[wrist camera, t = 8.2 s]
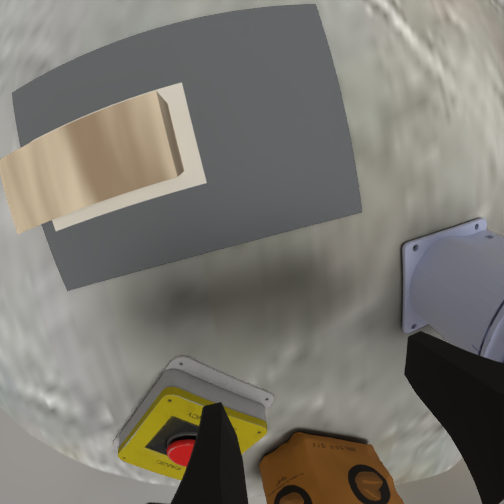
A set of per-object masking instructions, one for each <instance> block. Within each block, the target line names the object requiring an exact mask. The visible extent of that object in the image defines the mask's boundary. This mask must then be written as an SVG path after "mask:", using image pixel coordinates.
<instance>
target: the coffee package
mask: <svg viewBox="0 0 504 504" xmlns="http://www.w3.org/2000/svg"><path fill="white" fill-rule="evenodd" d="M259 468H260V472H261V477H262V482H263V488H264V492H265V496H266V501H267V504H404V503H403V500H402V499H401V498H400V496H399V495H398V494H397V492H396V489H395V486H394V482H393V478H392V477H391V475H390V474H389V472H388V471H387V469H386V468H385V467H384V465H383V463H382V462H381V461H380V459H379V457H378V455H377V454H376V452H375V450H374V448H373V446H372V445H371V444H362V443H356V442H350V441H345V440H340V439H335V438H331V437H324V436H317V435H309V434H305V433H302V432H297V433H295V434H293V435H292V437H291V439H290V440H289V441H288V442H286V443H283V444H282V445H280V447H279V448H277V449H276V450H275V451H273V452H272V453H269V454H268V455H266V456H264V457H263V460H262V461H261V462H260V464H259Z"/></svg>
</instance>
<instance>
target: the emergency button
mask: <svg viewBox="0 0 504 504" xmlns="http://www.w3.org/2000/svg"><path fill="white" fill-rule="evenodd" d="M219 402H222V405H223V407H224V409H225V411H226V413H227V415H228V417H229V420H230V422H231V424H232V426H233V428H234V430H235V432H236V434H237V438H238V442H239V446H240V450H241V455H242V454H243V453H245V452H246V451H247V450H248V449H249V448H251V447H252V446H253V445H254V444H255V443H256V442H258V441H259V440H260V439H261V438H262V437H263V436H265V435H266V433H267V423H266V416H265V411H266V410H267V409H268V408H269V407H270V406H271V405H272V403H273V402H274V395H273V394H272V393H271V392H269V391H266V390H264V389H261V388H259V387H256V386H254V385H252V384H249V383H247V382H244V381H242V380H240V379H237V378H235V377H233V376H230V375H228V374H226V373H223V372H221V371H219V370H217V369H215V368H212V367H210V366H208V365H206V364H204V363H202V362H199V361H197V360H195V359H193V358H191V357H189V356H184V355H180V356H176V357H174V358H173V359H172V360H171V361H170V362H169V363H168V365H167V366H166V368H165V369H164V370H163V372H162V373H161V375H160V376H159V377H158V379H157V380H156V382H155V383H154V384H153V386H152V387H151V389H150V390H149V391H148V393H147V394H146V396H145V397H144V398H143V400H142V401H141V403H140V404H139V406H138V407H137V408H136V410H135V411H134V413H133V414H132V415H131V417H130V418H129V420H128V421H127V422H126V424H125V425H124V427H123V428H122V430H121V431H120V432H119V434H118V435H117V437H116V438H115V439H114V442H113V445H114V447H115V448H117V449H118V457H119V458H120V459H121V460H123V461H125V462H127V463H130V464H133V465H135V466H138V467H141V468H144V469H147V470H149V471H152V472H155V473H159V474H162V475H165V476H168V477H172V478H175V479H178V480H182V478H183V475H184V473H185V470H186V467H187V465H188V462H189V459H190V456H191V453H192V450H193V446H194V443H195V440H196V436H197V432H198V428H199V424H200V419H201V414H202V408H203V407H204V406H206V405H210V404H214V403H219Z"/></svg>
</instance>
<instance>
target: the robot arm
mask: <svg viewBox="0 0 504 504" xmlns="http://www.w3.org/2000/svg"><path fill="white" fill-rule="evenodd" d="M475 225H476V226H475ZM414 245H415V248H414V249H413V247H414ZM402 254H403V322H402V330H403V331H404V332H405V333H410V332H412V331H415V330H417V329H419V328H421V327H423V326H426V325H428V324H429V325H430V326H431V327H432V328H434V329H435V330H436V331H437V332H438V333H439V334H440V335H441V336H442V337H443V338H444V339H446V340H447V341H448V342H449V343H447V342H445V341H443V340H440V339H438V338H436V337H434V336H431V335H429V334H426V333H424V332H421V331H420V332H418V333H416V334H413V335H411V336H409V337H408V345H407V355H406V365H405V373H404V374H405V376H406V378H407V379H408V381H409V383H410V384H411V386H412V388H413V389H414V391H415V392H416V394H417V395H418V396H419V398H420V399H421V400H422V401H423V403H424V404H425V405H426V406H427V407H428V409H429V410H430V411H431V412H432V413H433V415H434V416H435V417H436V418H437V420H438V421H439V422H440V423H441V424H442V426H443V427H444V428H445V429H446V431H447V432H448V434H449V435H450V436H451V438H452V440H453V441H454V443H455V445H456V446H457V448H458V450H459V451H460V453H461V455H462V457H463V459H464V461H465V462H466V464H467V466H468V469H469V470H470V473H471V475H472V477H473V479H474V482H475V484H476V487H477V489H478V492H479V495H480V497H481V501H482V504H499V503H500V502H501V501H502V500H504V237H503V236H500V235H498V234H496V233H493V232H491V231H489V230H487V221H486V219H485V218H479V219H476V220H473V221H470V222H467V223H464V224H461V225H458V226H455V227H452V228H449V229H446V230H443V231H440V232H437V233H434V234H431V235H428V236H425V237H422V238H419V239H415V240H412V241H409V242H407V243H405V244H404V246H403V249H402ZM413 324H414V325H413ZM412 325H413V326H412ZM171 504H248V498H247V490H246V483H245V475H244V467H243V459H242V455H241V450H240V446H239V442H238V438H237V434H236V432H235V430H234V428H233V426H232V424H231V422H230V420H229V417H228V415H227V413H226V411H225V409H224V407H223V405H222V402H219V403H214V404H210V405H206V406H204V407H203V408H202V414H201V419H200V424H199V428H198V432H197V436H196V440H195V443H194V446H193V450H192V453H191V456H190V459H189V462H188V465H187V467H186V470H185V473H184V475H183V478H182V480H181V483H180V485H179V487H178V490H177V492H176V494H175V496H174V498H173V500H172V502H171Z"/></svg>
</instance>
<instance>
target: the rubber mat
mask: <svg viewBox="0 0 504 504" xmlns="http://www.w3.org/2000/svg"><path fill="white" fill-rule="evenodd" d="M153 91H157V92H158V93H159V94H160V96H161V97H162V98H163V99H164V100H165V101H166V102H167V103H168V107H169V111H170V115H171V120H172V124H173V128H174V132H175V136H176V140H177V144H178V148H179V152H180V156H181V159H182V163H183V167H184V172H183V173H182V174H180V175H179V176H178V177H176V178H173V179H169V180H166V181H163V182H159V183H156V184H153V185H149V186H146V187H143V188H140V189H137V190H134V191H131V192H128V193H125V194H122V195H119V196H116V197H113V198H110V199H107V200H104V201H101V202H98V203H96V204H93V205H90V206H87V207H84V208H82V209H79V210H76V211H74V212H71V213H68V214H66V215H63V216H61V217H58V218H56V219H53V220H51V221H48V222H46V223H43V224H42V227H43V230H44V233H45V236H46V239H47V241H48V244H49V247H50V250H51V252H52V255H53V257H54V260H55V262H56V265H57V267H58V270H59V272H60V275H61V277H62V280H63V282H64V284H65V286H66V289H67V291H69V290H72V289H76V288H80V287H83V286H87V285H90V284H94V283H97V282H101V281H105V280H108V279H112V278H116V277H119V276H123V275H126V274H130V273H134V272H137V271H141V270H145V269H148V268H152V267H156V266H159V265H163V264H167V263H170V262H174V261H178V260H181V259H185V258H189V257H193V256H196V255H200V254H204V253H208V252H211V251H215V250H219V249H223V248H226V247H230V246H234V245H238V244H241V243H245V242H249V241H253V240H257V239H260V238H264V237H268V236H272V235H276V234H280V233H283V232H287V231H291V230H295V229H299V228H303V227H307V226H310V225H314V224H318V223H322V222H326V221H330V220H334V219H338V218H342V217H346V216H350V215H353V214H357V213H361V212H362V206H361V199H360V192H359V185H358V178H357V172H356V166H355V160H354V154H353V148H352V143H351V138H350V133H349V128H348V123H347V118H346V113H345V109H344V104H343V100H342V95H341V91H340V87H339V83H338V79H337V75H336V71H335V67H334V63H333V60H332V56H331V53H330V49H329V46H328V42H327V39H326V35H325V32H324V29H323V26H322V22H321V19H320V16H319V13H318V10H317V7H316V4H303V5H285V6H272V7H262V8H253V9H245V10H238V11H232V12H226V13H220V14H215V15H209V16H204V17H200V18H195V19H191V20H186V21H182V22H178V23H174V24H171V25H167V26H163V27H160V28H156V29H153V30H150V31H146V32H143V33H140V34H137V35H134V36H131V37H128V38H125V39H122V40H120V41H117V42H114V43H112V44H109V45H106V46H104V47H101V48H99V49H96V50H94V51H92V52H89V53H87V54H85V55H82V56H80V57H78V58H76V59H74V60H71V61H69V62H67V63H65V64H63V65H61V66H59V67H57V68H55V69H53V70H51V71H49V72H47V73H45V74H44V75H42V76H40V77H38V78H36V79H34V80H33V81H31V82H29V83H27V84H26V85H24V86H22V87H21V88H19V89H17V90H16V91H14V92H13V93H12V98H13V106H14V112H15V119H16V125H17V131H18V136H19V141H20V146H21V147H23V146H25V145H27V144H29V143H31V142H32V141H34V140H36V139H38V138H40V137H42V136H44V135H46V134H48V133H50V132H52V131H54V130H56V129H58V128H61V127H63V126H65V125H67V124H69V123H71V122H74V121H76V120H78V119H81V118H83V117H85V116H88V115H90V114H92V113H95V112H97V111H100V110H102V109H105V108H107V107H110V106H113V105H115V104H118V103H121V102H124V101H126V100H129V99H132V98H135V97H138V96H141V95H144V94H147V93H150V92H153Z"/></svg>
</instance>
